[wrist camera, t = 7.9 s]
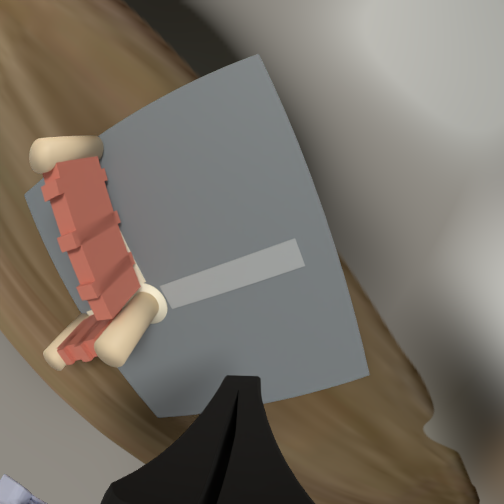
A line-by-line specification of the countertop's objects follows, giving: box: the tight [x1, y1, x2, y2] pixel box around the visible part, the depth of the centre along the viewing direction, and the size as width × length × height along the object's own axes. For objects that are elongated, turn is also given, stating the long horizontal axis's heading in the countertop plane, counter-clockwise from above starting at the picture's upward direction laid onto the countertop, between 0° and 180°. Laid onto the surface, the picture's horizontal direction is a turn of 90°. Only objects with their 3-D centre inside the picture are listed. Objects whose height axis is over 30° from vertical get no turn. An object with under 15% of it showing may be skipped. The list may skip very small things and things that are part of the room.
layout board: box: [25, 54, 369, 418], centre depth 19 cm, size 23×20×1 cm
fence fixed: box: [43, 292, 159, 371], centre depth 18 cm, size 8×2×6 cm, turn 112°
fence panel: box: [29, 135, 141, 321], centre depth 15 cm, size 10×2×5 cm, turn 14°
